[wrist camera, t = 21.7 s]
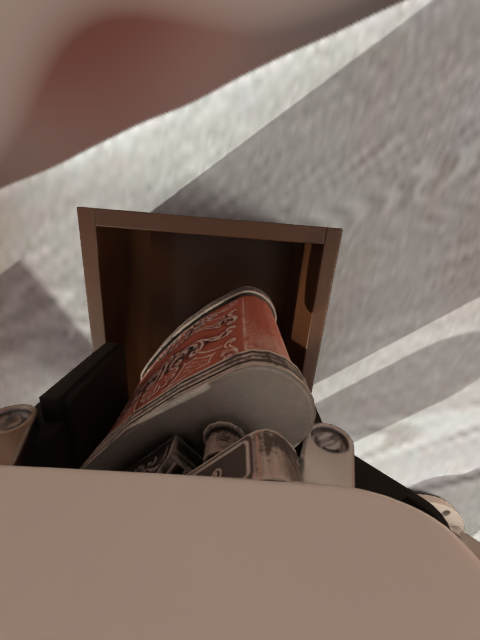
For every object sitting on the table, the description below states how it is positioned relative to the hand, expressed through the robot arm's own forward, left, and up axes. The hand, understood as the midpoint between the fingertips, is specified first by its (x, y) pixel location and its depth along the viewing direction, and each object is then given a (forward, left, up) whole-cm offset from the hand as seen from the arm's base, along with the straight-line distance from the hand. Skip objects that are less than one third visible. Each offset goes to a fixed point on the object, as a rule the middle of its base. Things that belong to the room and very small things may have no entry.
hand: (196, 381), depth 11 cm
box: (0, +2, -12) cm, 12 cm away
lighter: (0, -1, -3) cm, 3 cm away
